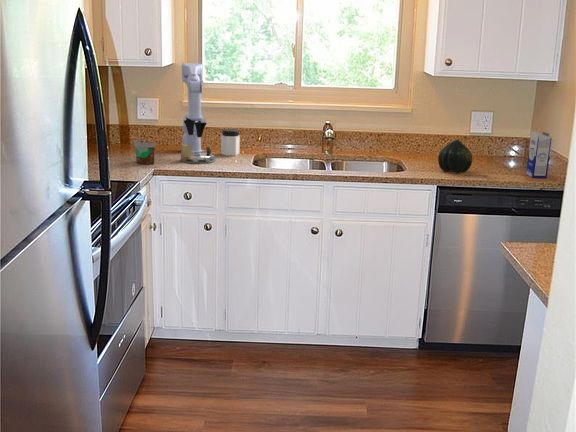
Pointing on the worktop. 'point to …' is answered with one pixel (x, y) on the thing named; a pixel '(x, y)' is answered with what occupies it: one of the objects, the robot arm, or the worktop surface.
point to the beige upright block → (186, 150)
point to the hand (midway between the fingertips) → (195, 136)
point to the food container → (144, 152)
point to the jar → (230, 142)
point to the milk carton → (538, 155)
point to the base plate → (198, 162)
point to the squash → (455, 157)
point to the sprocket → (200, 156)
